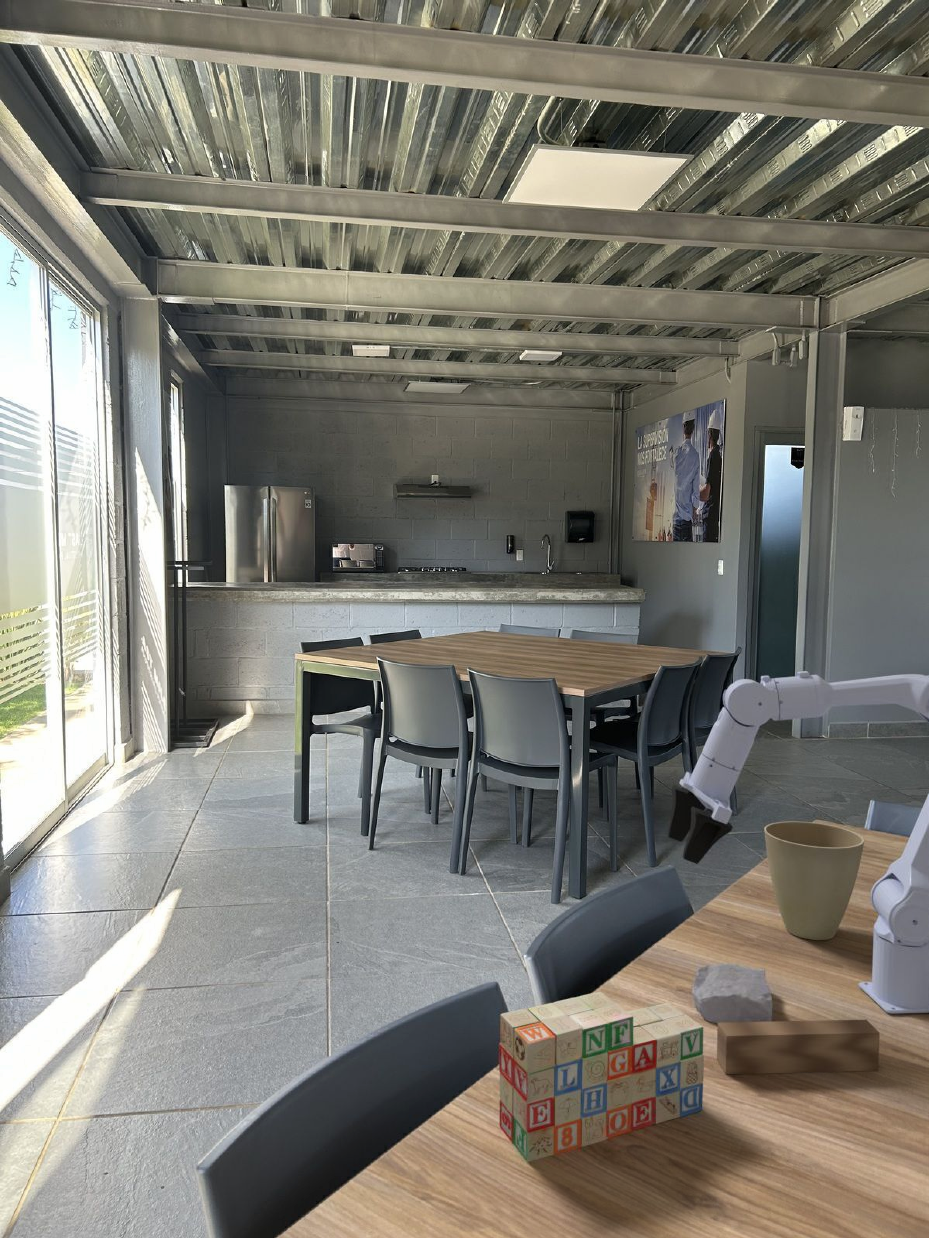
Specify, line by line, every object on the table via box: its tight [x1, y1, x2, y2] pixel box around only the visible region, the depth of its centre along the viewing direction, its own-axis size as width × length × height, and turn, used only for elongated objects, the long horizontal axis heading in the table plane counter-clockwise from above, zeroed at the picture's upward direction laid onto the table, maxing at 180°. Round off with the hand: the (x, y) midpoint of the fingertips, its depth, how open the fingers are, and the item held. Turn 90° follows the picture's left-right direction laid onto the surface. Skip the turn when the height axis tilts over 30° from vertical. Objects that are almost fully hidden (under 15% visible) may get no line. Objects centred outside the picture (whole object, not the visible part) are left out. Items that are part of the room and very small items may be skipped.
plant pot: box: [763, 820, 865, 941], centre depth 142 cm, size 15×15×16 cm
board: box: [716, 1019, 881, 1075], centre depth 103 cm, size 18×3×4 cm, turn 93°
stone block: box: [691, 962, 773, 1024], centre depth 118 cm, size 12×5×10 cm
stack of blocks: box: [498, 991, 705, 1163], centre depth 93 cm, size 21×6×12 cm, turn 114°
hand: (682, 849), depth 124 cm, fingers open, 7 cm apart
